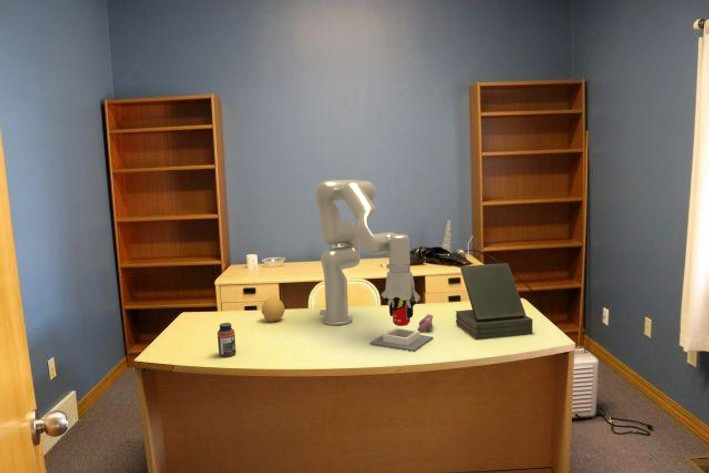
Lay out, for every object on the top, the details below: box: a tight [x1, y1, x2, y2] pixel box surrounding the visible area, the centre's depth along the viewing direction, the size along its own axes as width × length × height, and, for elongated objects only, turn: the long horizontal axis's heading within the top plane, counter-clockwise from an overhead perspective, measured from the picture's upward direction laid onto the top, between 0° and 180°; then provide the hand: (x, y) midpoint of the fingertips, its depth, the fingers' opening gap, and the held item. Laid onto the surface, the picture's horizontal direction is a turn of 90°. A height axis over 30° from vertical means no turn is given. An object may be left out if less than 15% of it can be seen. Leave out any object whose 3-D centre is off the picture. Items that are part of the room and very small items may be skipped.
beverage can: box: [392, 297, 411, 327], centre depth 192 cm, size 6×6×12 cm
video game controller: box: [417, 313, 434, 333], centre depth 207 cm, size 10×5×7 cm, turn 169°
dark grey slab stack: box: [455, 262, 534, 341], centre depth 203 cm, size 23×20×25 cm
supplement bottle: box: [216, 322, 237, 358], centre depth 186 cm, size 6×6×11 cm
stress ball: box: [261, 297, 286, 322], centre depth 227 cm, size 10×10×10 cm
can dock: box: [369, 327, 434, 353], centre depth 193 cm, size 18×16×3 cm
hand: (401, 316), depth 192 cm, fingers closed on beverage can, 6 cm apart
